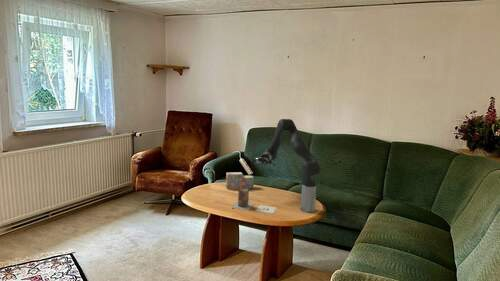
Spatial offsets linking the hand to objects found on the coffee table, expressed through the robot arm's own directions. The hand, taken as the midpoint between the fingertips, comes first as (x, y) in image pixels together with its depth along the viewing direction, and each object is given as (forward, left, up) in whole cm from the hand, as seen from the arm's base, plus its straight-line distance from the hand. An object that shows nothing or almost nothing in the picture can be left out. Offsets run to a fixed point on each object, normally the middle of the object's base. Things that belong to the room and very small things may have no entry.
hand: (259, 162), depth 260 cm
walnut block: (+6, +17, -27) cm, 33 cm away
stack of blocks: (+22, -25, -28) cm, 44 cm away
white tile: (-10, +17, -28) cm, 34 cm away
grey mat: (+6, +17, -28) cm, 33 cm away
